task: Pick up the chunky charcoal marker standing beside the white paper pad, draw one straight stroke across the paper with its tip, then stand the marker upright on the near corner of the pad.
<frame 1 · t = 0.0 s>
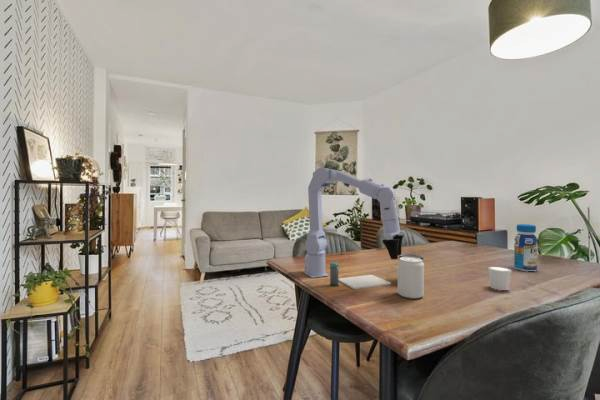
hand: (396, 257, 108), 11 cm above the table, tool pointing down, fingers open, 7 cm apart
paper pad: (363, 282, 112), on the table
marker: (334, 285, 109), on the table
beverage can: (410, 295, 98), on the table
blue supplement bottle: (525, 270, 132), on the table
coffee mug: (410, 281, 115), on the table
white cylinder: (499, 288, 106), on the table
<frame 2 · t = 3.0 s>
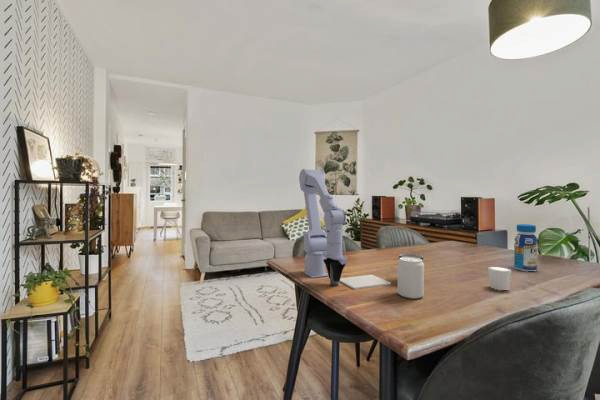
hand: (334, 279, 109), 2 cm above the table, tool pointing down, fingers closed on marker, 3 cm apart
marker: (334, 285, 109), on the table, touching gripper
everything else where it was.
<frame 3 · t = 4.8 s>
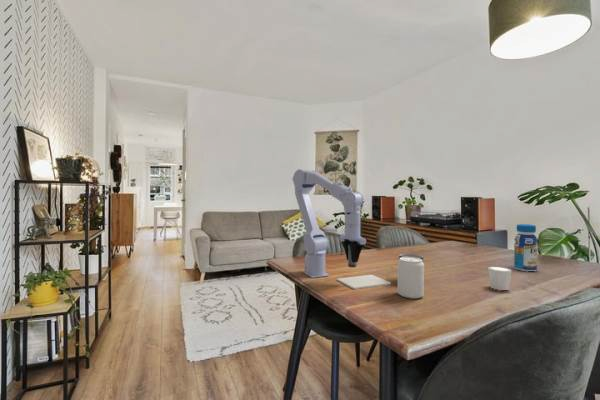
hand: (352, 261, 110), 8 cm above the table, tool pointing down, fingers closed on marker, 3 cm apart
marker: (352, 266, 110), point 6 cm above the table, touching gripper
everything else where it was.
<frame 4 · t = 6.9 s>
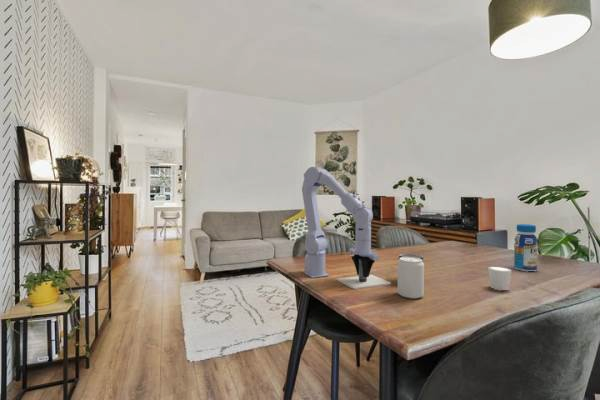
hand: (362, 275, 112), 3 cm above the table, tool pointing down, fingers closed on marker, 3 cm apart
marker: (362, 280, 112), point 1 cm above the table, touching gripper
everything else where it was.
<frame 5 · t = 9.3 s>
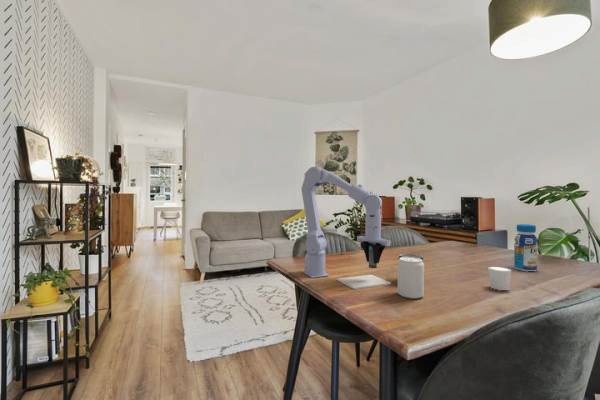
hand: (372, 262, 113), 7 cm above the table, tool pointing down, fingers closed on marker, 3 cm apart
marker: (372, 267, 113), point 5 cm above the table, touching gripper
everything else where it was.
when the fingers open (4 cm above the table, at t = 11.1 s): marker stays where it is, resting on paper pad.
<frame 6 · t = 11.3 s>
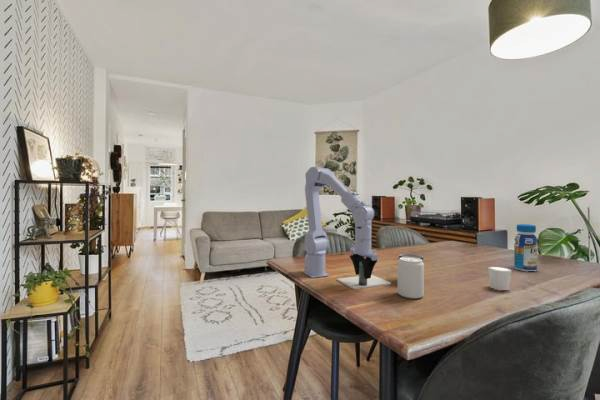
hand: (362, 276, 107), 4 cm above the table, tool pointing down, fingers open, 5 cm apart
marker: (362, 284, 107), point 1 cm above the table, touching paper pad
everything else where it was.
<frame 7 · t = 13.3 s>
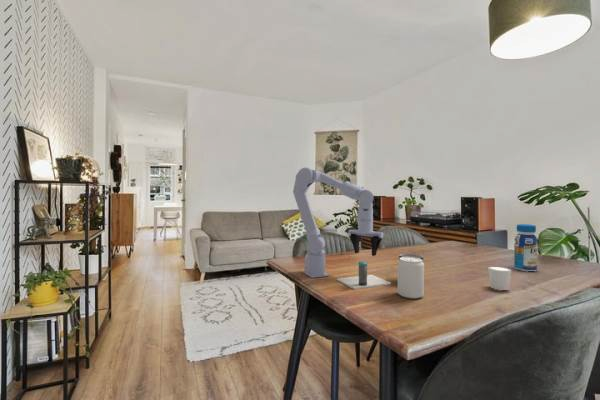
hand: (365, 254, 118), 9 cm above the table, tool pointing down, fingers open, 7 cm apart
nothing on the table moved.
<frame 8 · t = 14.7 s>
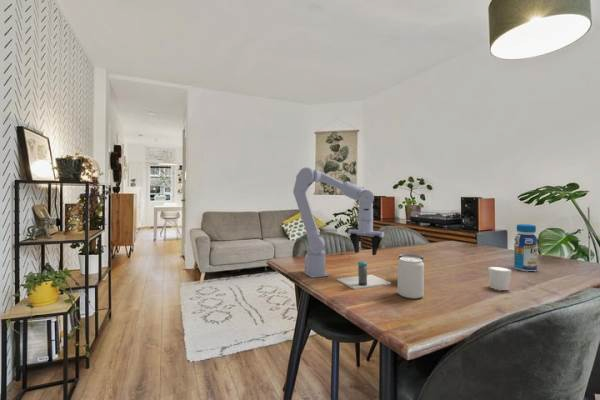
hand: (365, 253, 119), 9 cm above the table, tool pointing down, fingers open, 7 cm apart
nothing on the table moved.
at the end: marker 0.3 cm from the target spot on the paper pad, point 0.6 cm above the paper pad's base; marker tilted 1°; the gripper is holding nothing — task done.
